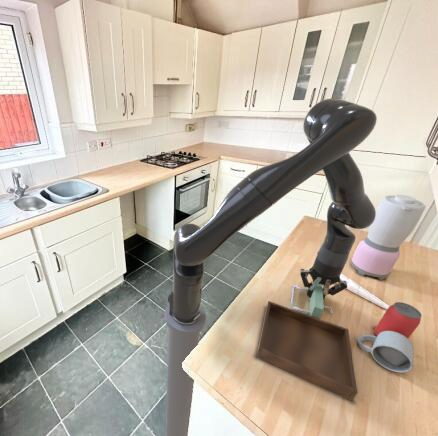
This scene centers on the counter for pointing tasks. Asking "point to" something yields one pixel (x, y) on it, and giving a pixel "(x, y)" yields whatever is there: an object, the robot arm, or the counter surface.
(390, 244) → the blender
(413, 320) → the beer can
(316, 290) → the hanger
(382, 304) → the unicorn horn
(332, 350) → the tray
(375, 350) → the ceramic mug
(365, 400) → the counter surface
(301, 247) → the counter surface
